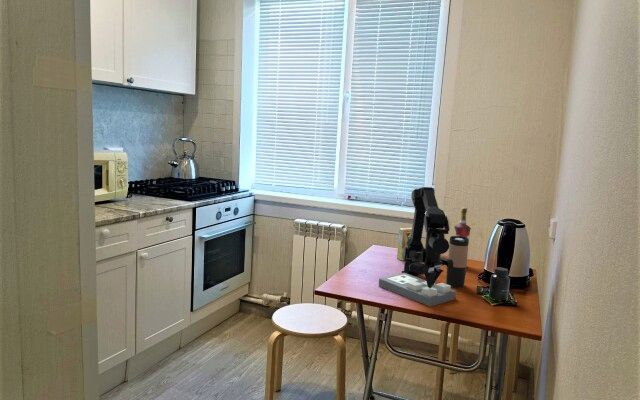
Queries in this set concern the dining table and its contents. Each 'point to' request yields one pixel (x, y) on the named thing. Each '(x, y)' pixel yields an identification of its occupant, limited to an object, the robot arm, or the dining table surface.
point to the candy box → (403, 240)
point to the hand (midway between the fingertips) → (429, 287)
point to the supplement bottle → (499, 284)
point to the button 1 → (414, 286)
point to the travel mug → (457, 261)
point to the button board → (400, 286)
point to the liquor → (462, 226)
